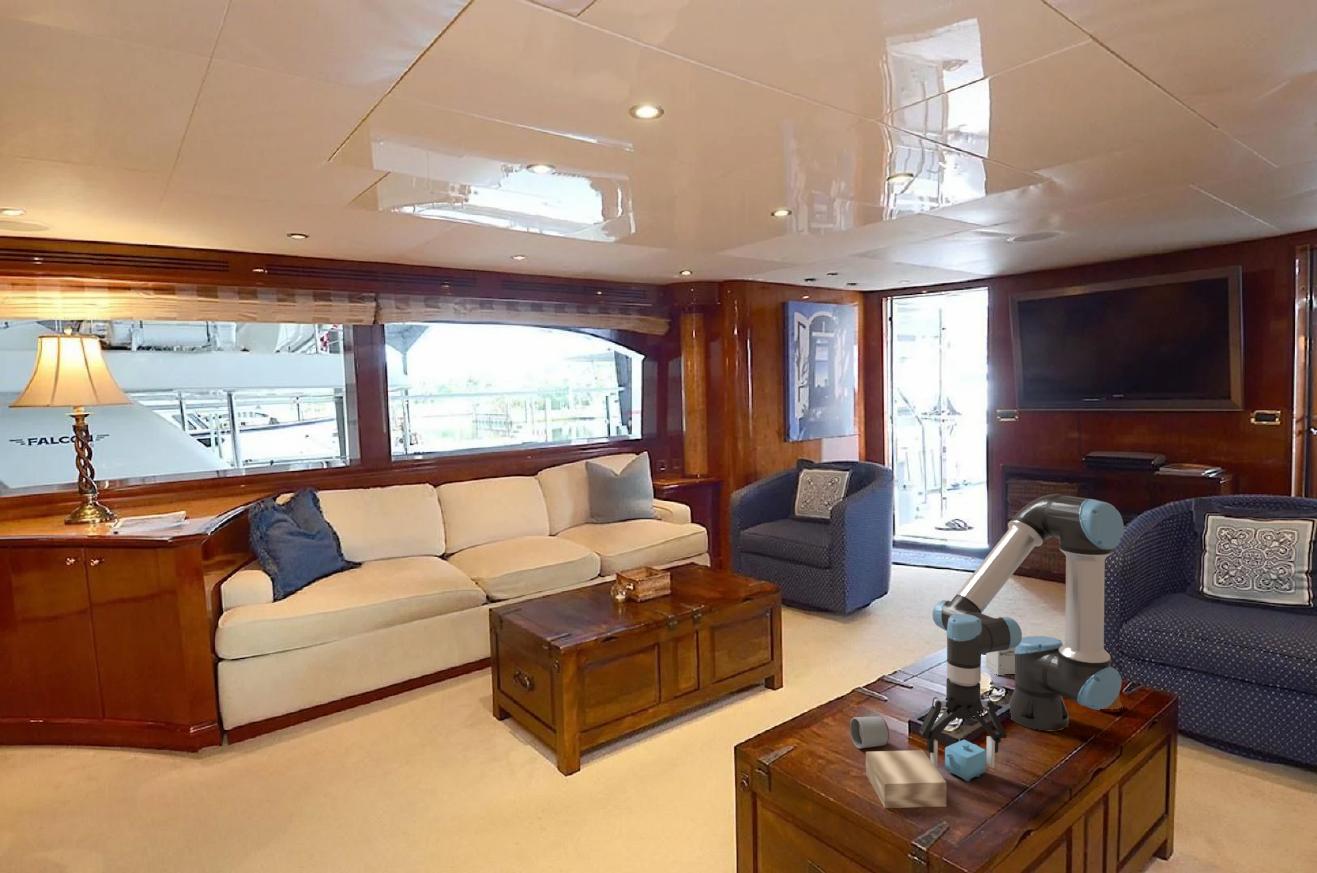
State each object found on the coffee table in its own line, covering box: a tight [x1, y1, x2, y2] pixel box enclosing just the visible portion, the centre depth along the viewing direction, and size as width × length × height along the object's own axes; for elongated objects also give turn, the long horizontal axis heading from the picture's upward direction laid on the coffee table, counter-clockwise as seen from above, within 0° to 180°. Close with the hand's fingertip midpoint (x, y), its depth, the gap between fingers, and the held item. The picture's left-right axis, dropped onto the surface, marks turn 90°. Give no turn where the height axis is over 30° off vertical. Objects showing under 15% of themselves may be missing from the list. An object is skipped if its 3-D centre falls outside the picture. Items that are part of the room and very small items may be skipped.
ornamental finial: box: [1104, 693, 1123, 710], centre depth 203 cm, size 8×8×8 cm
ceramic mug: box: [849, 716, 890, 749], centre depth 188 cm, size 11×8×8 cm
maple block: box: [865, 749, 947, 809], centre depth 166 cm, size 14×14×6 cm
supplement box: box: [985, 647, 1016, 676], centre depth 231 cm, size 7×7×13 cm
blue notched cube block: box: [944, 739, 987, 782], centre depth 171 cm, size 12×6×8 cm, turn 120°
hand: (962, 765), depth 171 cm, fingers open, 13 cm apart
